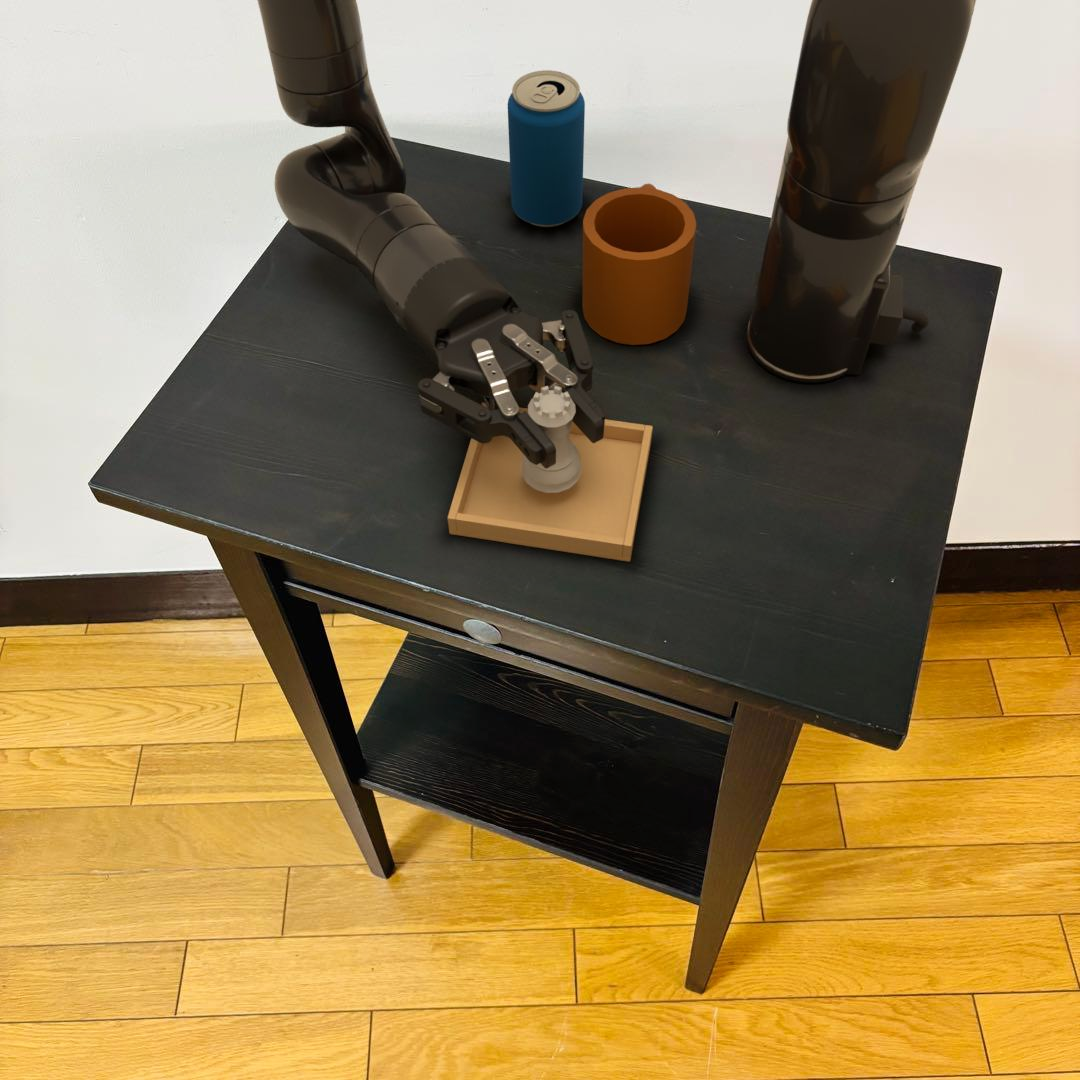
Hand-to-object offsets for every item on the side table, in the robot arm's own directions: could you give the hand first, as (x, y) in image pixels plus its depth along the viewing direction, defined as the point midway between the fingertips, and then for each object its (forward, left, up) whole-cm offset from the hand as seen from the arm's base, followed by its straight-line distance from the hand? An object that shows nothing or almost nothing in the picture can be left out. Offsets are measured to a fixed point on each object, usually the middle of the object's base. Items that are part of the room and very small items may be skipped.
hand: (575, 445), depth 72 cm
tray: (+2, -2, -8) cm, 8 cm away
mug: (-2, -24, -8) cm, 25 cm away
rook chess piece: (+2, -2, -6) cm, 7 cm away
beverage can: (+8, -34, -8) cm, 35 cm away
